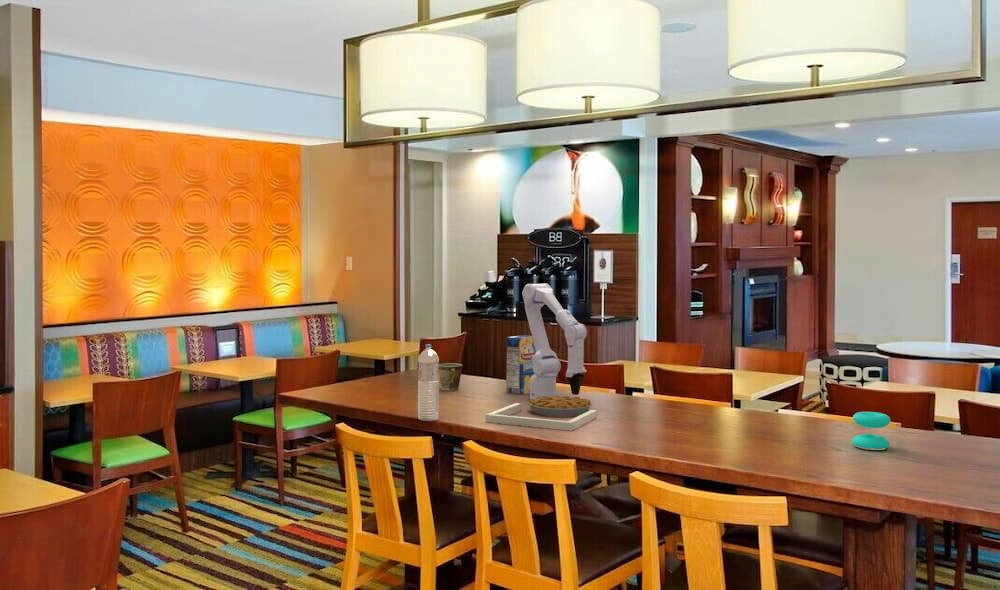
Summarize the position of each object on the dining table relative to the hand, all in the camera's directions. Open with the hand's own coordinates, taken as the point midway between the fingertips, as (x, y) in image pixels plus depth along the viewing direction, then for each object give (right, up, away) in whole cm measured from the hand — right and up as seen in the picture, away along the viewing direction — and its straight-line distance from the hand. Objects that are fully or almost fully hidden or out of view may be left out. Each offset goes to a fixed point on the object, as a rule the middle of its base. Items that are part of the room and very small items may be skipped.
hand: (575, 394), depth 327 cm
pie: (-7, -5, -14) cm, 16 cm away
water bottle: (-51, -5, -29) cm, 59 cm away
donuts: (+80, -8, -67) cm, 105 cm away
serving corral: (-14, -5, -28) cm, 32 cm away
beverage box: (-19, -2, +28) cm, 34 cm away
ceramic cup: (-47, -2, +32) cm, 57 cm away
